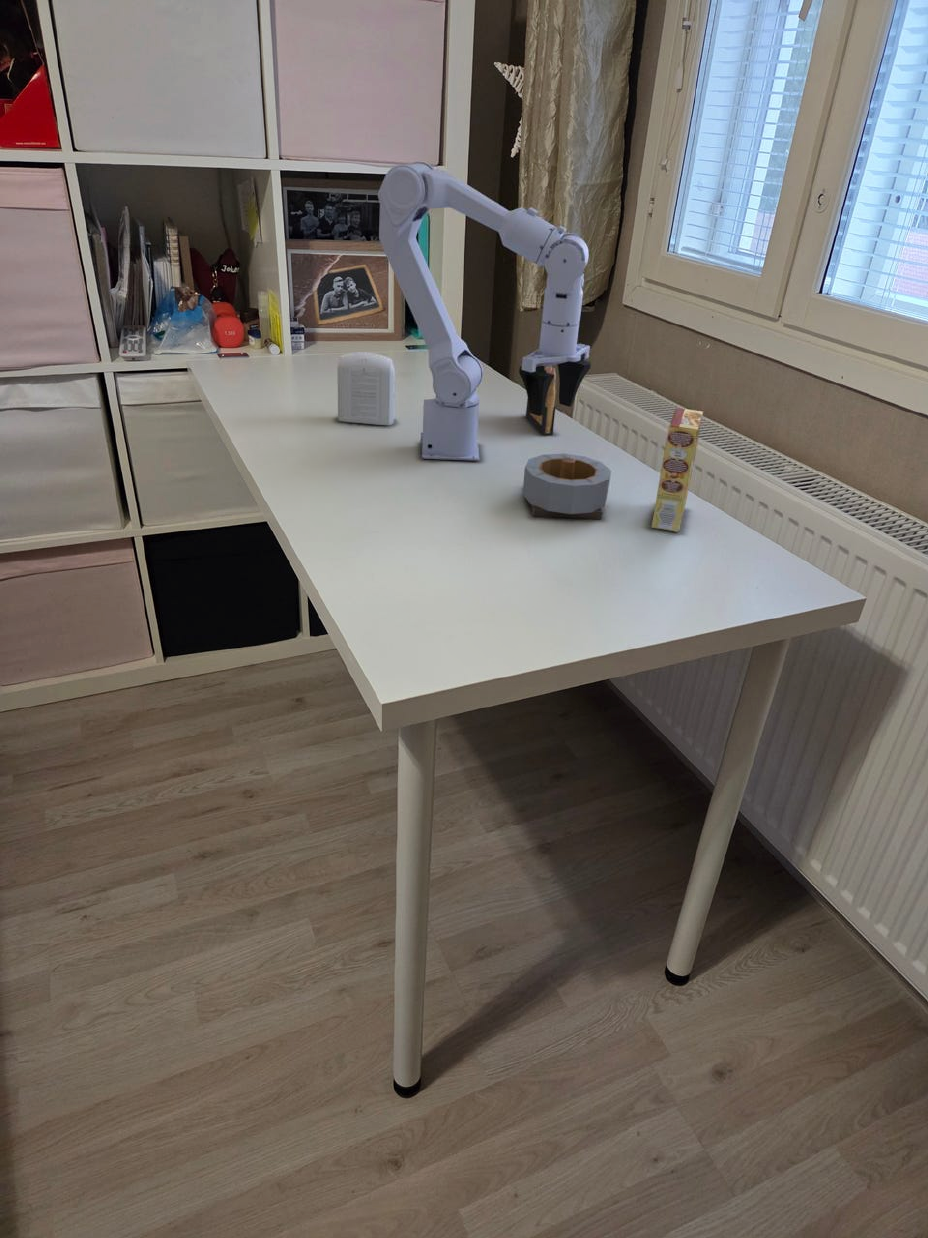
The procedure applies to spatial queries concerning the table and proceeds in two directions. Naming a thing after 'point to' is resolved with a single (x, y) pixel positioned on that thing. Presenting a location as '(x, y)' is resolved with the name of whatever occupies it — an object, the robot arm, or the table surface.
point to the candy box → (677, 469)
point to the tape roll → (566, 484)
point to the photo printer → (366, 388)
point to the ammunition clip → (545, 409)
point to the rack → (565, 473)
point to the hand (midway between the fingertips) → (551, 409)
